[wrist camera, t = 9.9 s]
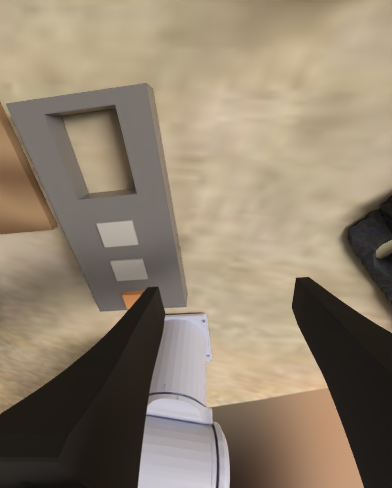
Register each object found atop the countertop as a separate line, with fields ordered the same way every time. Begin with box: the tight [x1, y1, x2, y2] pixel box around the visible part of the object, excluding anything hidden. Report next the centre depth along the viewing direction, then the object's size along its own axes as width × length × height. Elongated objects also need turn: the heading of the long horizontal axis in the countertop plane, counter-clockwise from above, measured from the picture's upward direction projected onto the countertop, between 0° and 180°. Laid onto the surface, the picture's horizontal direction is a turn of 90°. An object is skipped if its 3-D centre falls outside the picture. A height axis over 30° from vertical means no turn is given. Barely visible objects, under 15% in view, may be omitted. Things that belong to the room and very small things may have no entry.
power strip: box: [6, 83, 188, 311], centre depth 19 cm, size 20×10×3 cm, turn 6°
